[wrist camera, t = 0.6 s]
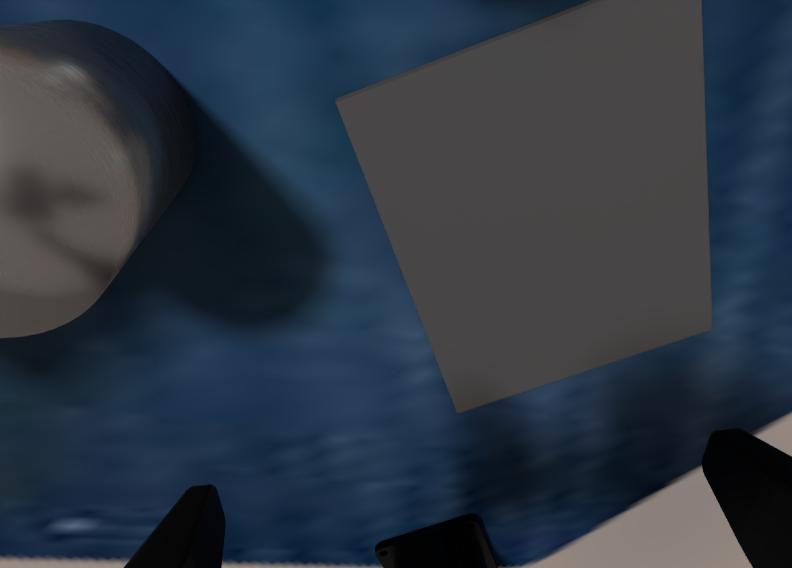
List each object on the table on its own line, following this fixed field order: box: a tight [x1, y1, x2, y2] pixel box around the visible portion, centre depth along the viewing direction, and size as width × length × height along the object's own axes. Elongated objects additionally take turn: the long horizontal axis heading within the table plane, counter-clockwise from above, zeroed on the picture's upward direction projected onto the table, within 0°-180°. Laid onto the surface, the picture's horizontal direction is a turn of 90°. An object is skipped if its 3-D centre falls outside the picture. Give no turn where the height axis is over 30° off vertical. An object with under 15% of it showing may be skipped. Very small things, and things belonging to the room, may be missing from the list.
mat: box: [336, 0, 712, 414], centre depth 22 cm, size 16×13×1 cm
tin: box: [0, 20, 196, 338], centre depth 15 cm, size 7×7×8 cm
